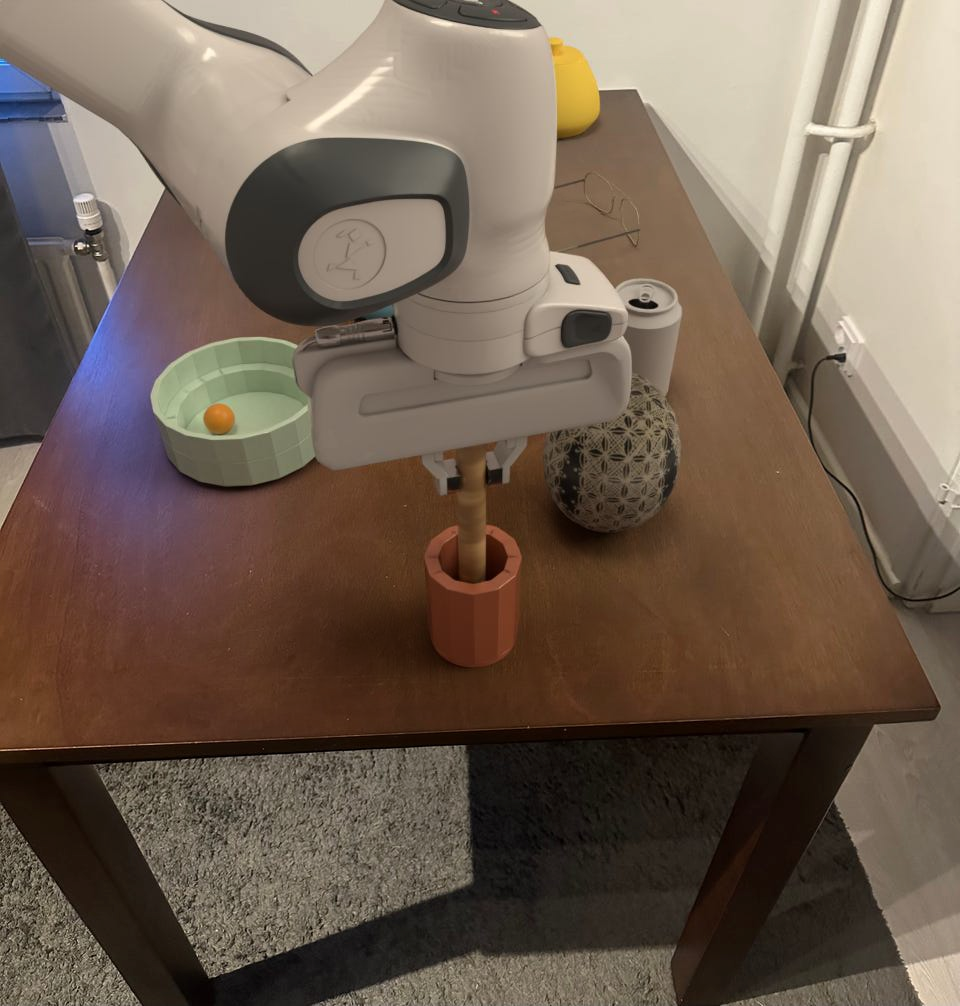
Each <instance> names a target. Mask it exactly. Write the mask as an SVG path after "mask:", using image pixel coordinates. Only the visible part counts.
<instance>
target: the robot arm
mask: <svg viewBox="0 0 960 1006" xmlns="http://www.w3.org/2000/svg"><path fill="white" fill-rule="evenodd" d="M0 59H2V60H3V61H5V62H7V63H8V64H10V65H12V66H13V67H14V68H16V69H18V70H20V71H21V72H23V73H25V74H27V75H28V76H30V77H31V78H33V79H35V80H37V81H38V82H40V83H42V84H43V85H45V86H46V87H48V88H50V89H52V90H53V91H54V92H57V93H58V94H60V95H62V96H64V97H65V98H67V99H69V100H70V101H72V102H74V103H75V104H76V105H78V106H80V107H82V108H84V109H85V110H87V111H89V112H91V113H92V114H94V115H95V116H97V117H99V118H100V119H102V120H103V121H105V122H107V123H108V124H110V125H112V126H113V127H114V128H116V129H117V130H119V131H120V132H121V133H122V134H123V135H124V136H125V137H126V138H127V139H129V141H130V142H131V143H132V144H133V145H134V146H135V147H136V149H137V150H138V151H139V153H140V154H141V156H142V157H143V159H144V161H145V162H146V163H147V165H148V167H149V168H150V170H151V171H152V173H153V174H154V176H155V177H156V178H157V179H158V181H159V182H160V183H161V185H162V186H163V187H164V188H165V190H166V191H167V192H168V193H169V195H171V197H172V198H173V199H174V200H175V201H176V203H178V205H179V206H180V207H181V208H182V209H183V210H184V211H185V213H186V214H187V215H188V218H190V220H191V221H192V223H193V224H194V225H195V227H196V228H197V230H198V231H199V232H200V234H201V235H202V236H203V238H204V240H205V241H206V242H207V244H208V246H209V247H210V249H211V251H212V252H213V254H214V255H215V257H216V258H217V259H218V261H219V262H220V263H221V265H222V266H223V268H224V270H226V272H227V273H228V275H229V276H230V277H231V279H232V280H233V281H234V283H236V285H237V286H238V288H239V289H240V291H241V292H242V294H243V295H244V296H245V297H246V298H247V299H248V300H249V301H250V302H251V303H252V304H253V305H254V306H255V307H256V308H258V309H259V310H261V312H264V313H265V314H266V315H268V316H270V317H272V318H274V319H276V320H279V321H281V322H285V323H288V324H291V325H294V326H300V327H301V326H302V327H309V328H311V327H312V328H315V327H316V328H317V329H315V330H314V334H313V335H311V336H308V337H307V338H305V339H303V340H302V341H301V342H300V343H298V344H297V345H298V346H297V348H296V349H295V351H294V354H293V358H292V363H293V369H294V374H295V380H296V383H297V386H298V387H299V389H300V390H301V391H302V392H303V393H304V394H306V395H307V396H308V416H309V426H310V432H311V438H312V443H313V448H314V452H315V459H316V461H317V462H318V463H319V464H321V465H322V466H324V467H325V468H327V469H328V470H329V471H333V472H334V471H335V472H337V471H342V470H348V469H353V468H359V467H364V466H365V467H366V466H370V465H374V464H375V465H376V464H381V463H385V462H392V461H398V460H403V459H409V458H415V457H419V458H420V462H421V464H422V466H424V468H425V469H426V470H427V471H428V472H429V473H430V474H432V476H433V480H434V484H435V488H436V491H437V494H438V495H439V497H442V496H446V495H447V496H448V495H451V494H457V493H458V492H461V486H460V483H461V475H460V472H459V470H458V469H457V468H456V458H448V459H444V452H447V451H454V450H456V449H459V448H465V447H470V446H476V445H482V444H486V445H488V444H493V443H497V444H496V445H495V447H494V448H493V450H491V451H486V487H494V486H500V485H505V484H509V483H510V477H511V476H510V475H511V467H512V466H513V464H515V462H516V460H517V459H518V458H519V457H520V455H521V454H522V453H523V452H524V451H525V449H526V448H527V446H528V437H532V436H537V435H542V434H547V433H548V432H554V431H560V430H565V429H571V428H576V427H582V426H587V425H593V424H599V423H605V422H610V421H614V420H615V419H616V418H618V417H619V416H620V415H621V413H622V412H623V411H624V410H625V409H626V408H627V406H628V404H629V399H630V392H631V380H632V357H631V350H630V347H629V345H628V343H627V341H626V340H625V338H624V337H623V334H624V333H625V331H626V328H627V324H628V312H627V310H626V308H625V305H624V304H623V302H622V300H621V298H620V296H619V295H618V293H617V292H616V290H615V287H614V286H613V284H612V283H611V282H610V281H609V278H607V276H605V274H604V273H603V272H602V271H601V270H600V269H599V267H598V266H596V264H595V263H594V262H593V261H592V260H590V259H589V258H587V257H585V256H582V255H576V254H571V253H565V252H563V253H559V252H555V251H553V250H550V246H549V245H550V244H549V241H548V238H547V235H546V234H547V233H546V216H547V211H548V208H549V205H550V203H551V200H552V197H553V195H554V190H555V189H554V187H555V182H556V181H555V180H556V168H557V167H556V166H557V146H558V145H557V144H558V139H557V96H556V81H555V70H554V62H553V56H552V50H551V46H550V41H549V36H548V33H547V30H546V28H545V27H544V25H542V23H541V22H540V21H539V20H538V18H537V16H535V15H534V14H532V13H531V12H529V11H528V10H527V9H525V8H523V7H522V6H520V5H519V4H517V3H515V2H513V1H511V0H384V1H383V3H382V6H381V7H380V9H379V11H378V13H377V15H376V16H375V18H374V19H373V20H372V21H371V23H370V24H369V25H368V27H366V29H364V31H363V32H362V33H361V34H360V35H359V36H358V37H357V38H356V39H354V41H353V42H352V43H351V44H350V45H349V46H348V47H347V48H346V49H345V50H344V51H343V52H341V54H339V55H338V56H337V57H336V58H334V59H333V60H332V61H331V62H330V63H329V64H327V65H326V66H325V67H323V68H322V69H320V70H319V71H318V72H316V73H314V74H312V73H311V71H310V70H309V69H308V68H307V67H306V66H305V65H304V63H303V62H301V61H300V59H299V58H297V56H296V55H294V54H293V53H292V52H290V51H289V50H288V49H287V48H285V47H283V46H282V45H281V44H279V43H277V42H275V41H273V40H271V39H269V38H266V37H264V36H262V35H259V34H256V33H254V32H250V31H247V30H243V29H238V28H233V27H230V26H226V25H222V24H217V23H214V22H209V21H206V20H203V19H200V18H196V17H193V16H191V15H188V14H187V13H184V12H182V11H181V10H179V9H178V8H176V7H174V6H173V5H171V4H170V3H169V2H167V1H165V0H0ZM390 305H393V314H394V315H392V316H391V317H385V318H378V319H372V320H367V319H365V320H362V321H358V322H354V323H351V324H344V323H347V322H350V321H353V320H356V319H359V318H363V317H362V316H364V315H367V314H370V313H372V312H375V311H377V310H380V309H382V308H385V307H387V306H390ZM340 324H344V325H340Z"/></svg>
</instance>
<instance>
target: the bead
mask: <svg viewBox="0 0 960 1006" xmlns="http://www.w3.org/2000/svg"><path fill="white" fill-rule="evenodd" d="M203 420H204V424H205V426H206V428H207V429H208V430H209V431H211V432H212V433H215V434H224V433H227V432H228V431H230V430H231V429H232V427H233V426H234V423H235V416H234V413H233V411H232V410H231V409H230V408H229V407H228V406H226V405H224V404H214V405H211V406H210V407H208V408H207V410H206V411H205V413H204V417H203Z"/></svg>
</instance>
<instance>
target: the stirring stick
mask: <svg viewBox="0 0 960 1006" xmlns="http://www.w3.org/2000/svg"><path fill="white" fill-rule="evenodd" d="M486 452H487V444H482V445H476V446H470V447H465V448H459V449H455V462H456V468H457V469H458V470H459V472H460V475H461V483H460V486H461V492H458V493H456V505H457V506H456V507H457V511H456V512H457V525H458V549H459V581H460V582H465V583H470V584H476V583H480V582H485V581H486V525H487V484H486Z"/></svg>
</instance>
